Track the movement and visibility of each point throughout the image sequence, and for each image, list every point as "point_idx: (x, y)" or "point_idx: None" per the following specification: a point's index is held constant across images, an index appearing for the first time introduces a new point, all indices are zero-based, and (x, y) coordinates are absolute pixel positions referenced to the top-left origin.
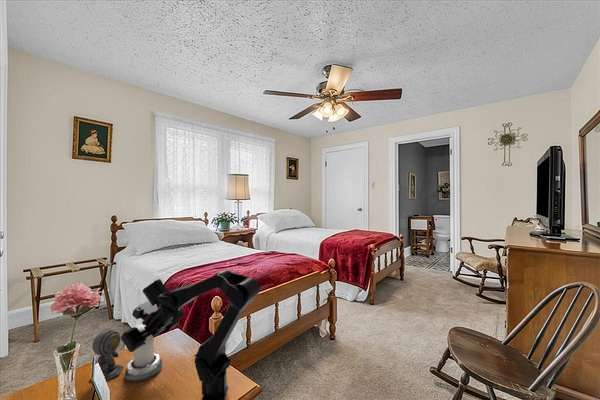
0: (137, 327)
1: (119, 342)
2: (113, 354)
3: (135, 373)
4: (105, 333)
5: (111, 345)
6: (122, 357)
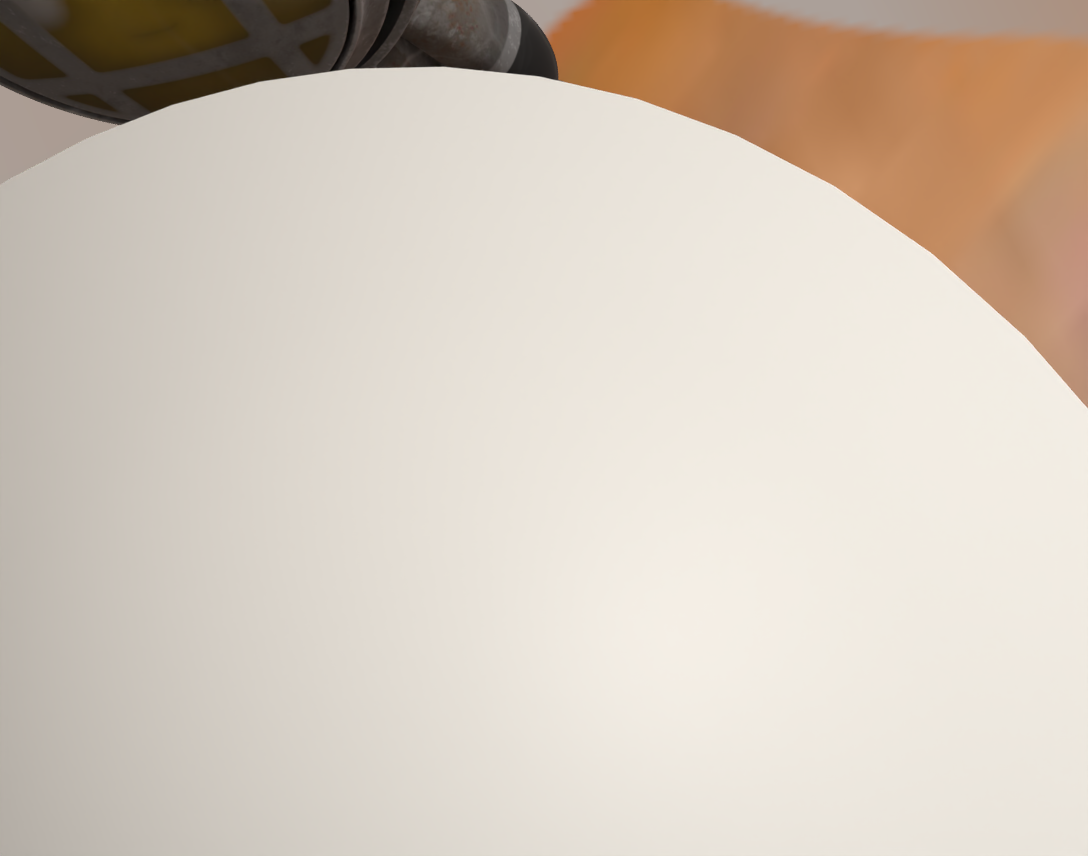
0: (152, 366)
1: (352, 13)
2: (448, 65)
3: None
4: None
5: (59, 38)
6: (752, 49)
